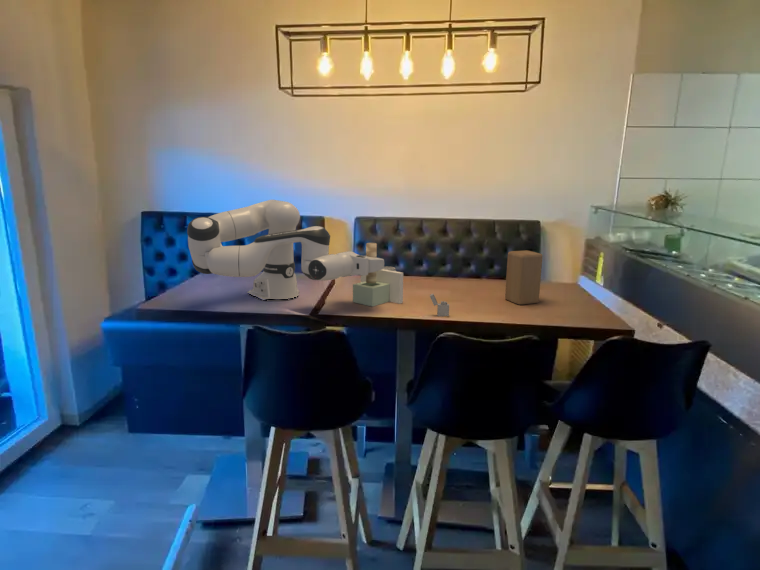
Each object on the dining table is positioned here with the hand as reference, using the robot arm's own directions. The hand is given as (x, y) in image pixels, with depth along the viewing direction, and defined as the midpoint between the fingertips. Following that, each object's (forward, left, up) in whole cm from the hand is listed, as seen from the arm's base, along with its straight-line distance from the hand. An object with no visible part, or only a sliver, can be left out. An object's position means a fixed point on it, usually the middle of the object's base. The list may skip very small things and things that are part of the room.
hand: (372, 258), depth 195 cm
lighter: (+28, +5, -18) cm, 34 cm away
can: (-4, +15, -18) cm, 24 cm away
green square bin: (0, -1, -17) cm, 17 cm away
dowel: (0, -1, -9) cm, 9 cm away
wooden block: (+42, +44, -18) cm, 63 cm away
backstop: (0, -4, -18) cm, 19 cm away
